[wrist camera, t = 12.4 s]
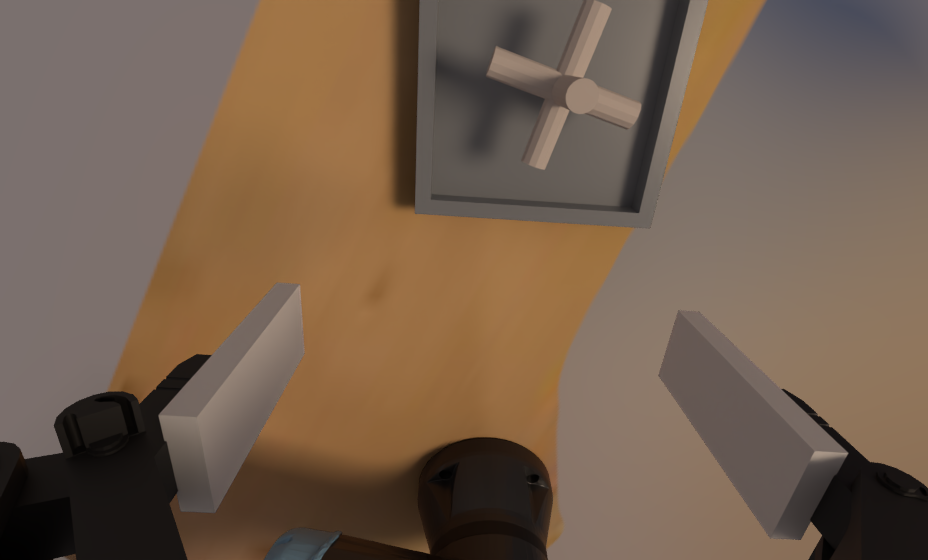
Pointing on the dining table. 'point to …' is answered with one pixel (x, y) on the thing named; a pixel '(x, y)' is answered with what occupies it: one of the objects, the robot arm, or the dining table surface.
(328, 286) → the dining table surface
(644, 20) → the tray
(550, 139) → the pipe connector
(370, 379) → the dining table surface
